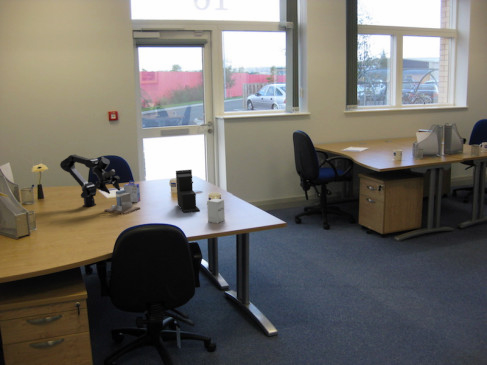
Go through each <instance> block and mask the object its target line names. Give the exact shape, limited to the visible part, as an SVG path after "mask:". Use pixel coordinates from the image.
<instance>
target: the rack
mask: <svg viewBox="0 0 487 365" xmlns="http://www.w3.org/2000/svg"><path fill="white" fill-rule="evenodd" d="M135 210H136V211H137V210H141V207H139V206H134V205H133V202H131V198H130V193H126V194H123V195H121V206H117V204H116V205H114V204H112V205H111V207H108V208H106V209H104V212H106V211H107V213H113V212H114V214H120V213H121V215H127V214H129V213H132V212H136V211H135Z"/></svg>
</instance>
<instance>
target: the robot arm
mask: <svg viewBox="0 0 487 365" xmlns="http://www.w3.org/2000/svg"><path fill="white" fill-rule="evenodd" d="M110 161H111V160H110V159H108V158H106V157H104V156H101V157H100V158H99V159H98V158H93V157H92V158H88V157H85V156H84V157H83V156H80V155H77V154H71V155H70V154H69V155H68V157H66V158H65V159H63V160H61V161H60V163H59V167H60V168H61V170H63V171H64V172H67V173H69V175H70V176H71V177H72V178H73V179H74V180H75V181H76V182H77V184H79V185H80V187H81V191H82V192H81V194H80V197H81V198H82V199H83V205H82V207H89V208H90V207H94V206H97V203H95V198H94V197H95V196H96V195H97V190H99V191H102V192H103V193H106V194H107V195H110V194H111V192H110V190H109V189H108V187H107V186H106V185H108V184H111V185H112V186H113V188H114V189H116V191H119V190H121V188H120V185H119V181H120V179H121V178H120V176H119V175H116V171H115V169H111V170H109V171H105V170H106V169H107V168H108V167H109V165H110V163H111V162H110ZM76 163H78V164H82V165H84V166H85V167H86V168H87V169H88V168H89V169H91V175H92V174H95V175H96V177H97V181H96V182H95V184H94V183H93V182H92V181H91V182H88V181H87V180H86V179H85V177H83V176H82V174H81V173H80V172H79V171H78V169H76Z"/></svg>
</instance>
